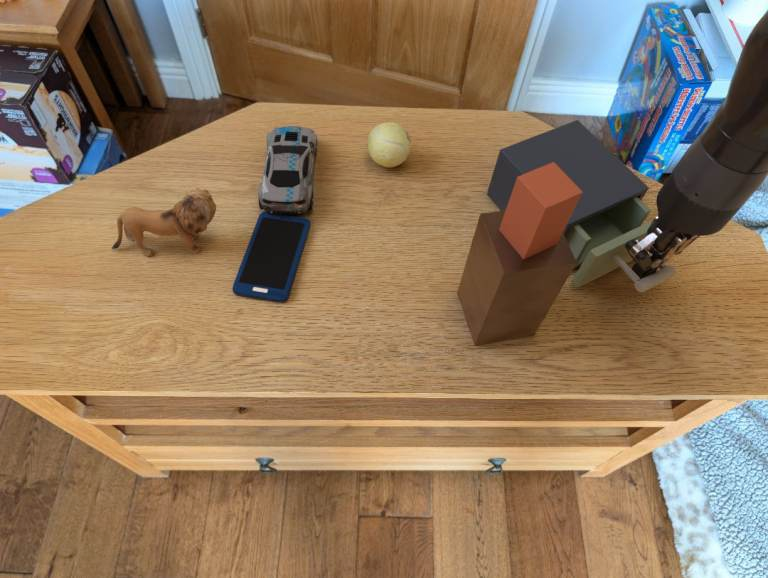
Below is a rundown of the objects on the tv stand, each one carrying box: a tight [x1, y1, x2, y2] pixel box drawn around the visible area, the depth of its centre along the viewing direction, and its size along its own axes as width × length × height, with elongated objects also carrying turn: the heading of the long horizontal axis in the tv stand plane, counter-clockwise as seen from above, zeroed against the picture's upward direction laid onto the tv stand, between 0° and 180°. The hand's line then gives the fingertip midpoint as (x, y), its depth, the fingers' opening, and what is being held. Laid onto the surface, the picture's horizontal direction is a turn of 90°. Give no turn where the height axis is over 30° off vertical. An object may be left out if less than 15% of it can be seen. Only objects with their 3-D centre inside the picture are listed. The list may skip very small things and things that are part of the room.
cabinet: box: [486, 119, 650, 238], centre depth 78 cm, size 15×14×9 cm
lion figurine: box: [111, 187, 217, 258], centre depth 72 cm, size 15×5×9 cm, turn 103°
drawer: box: [566, 197, 676, 293], centre depth 74 cm, size 19×12×7 cm, turn 29°
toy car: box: [257, 125, 318, 215], centre depth 81 cm, size 8×17×5 cm, turn 1°
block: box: [499, 162, 583, 260], centre depth 55 cm, size 4×4×8 cm
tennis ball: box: [365, 121, 412, 168], centre depth 83 cm, size 6×7×7 cm
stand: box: [456, 210, 577, 346], centre depth 65 cm, size 8×8×16 cm
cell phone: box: [231, 211, 311, 303], centre depth 75 cm, size 7×14×1 cm, turn 171°
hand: (639, 275), depth 72 cm, fingers closed
